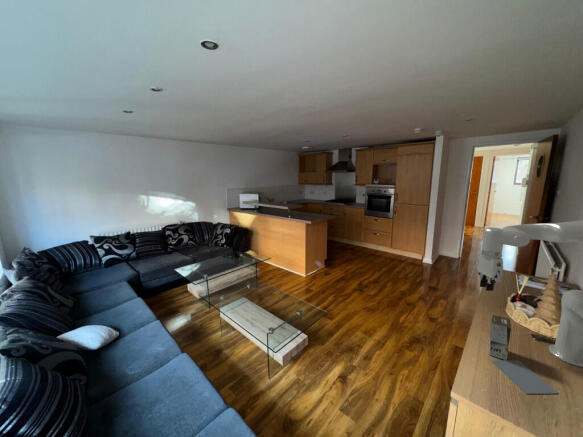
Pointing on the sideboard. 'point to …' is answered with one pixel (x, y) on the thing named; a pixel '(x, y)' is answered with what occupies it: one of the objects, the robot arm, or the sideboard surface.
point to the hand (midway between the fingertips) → (486, 288)
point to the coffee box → (499, 337)
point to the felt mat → (524, 377)
